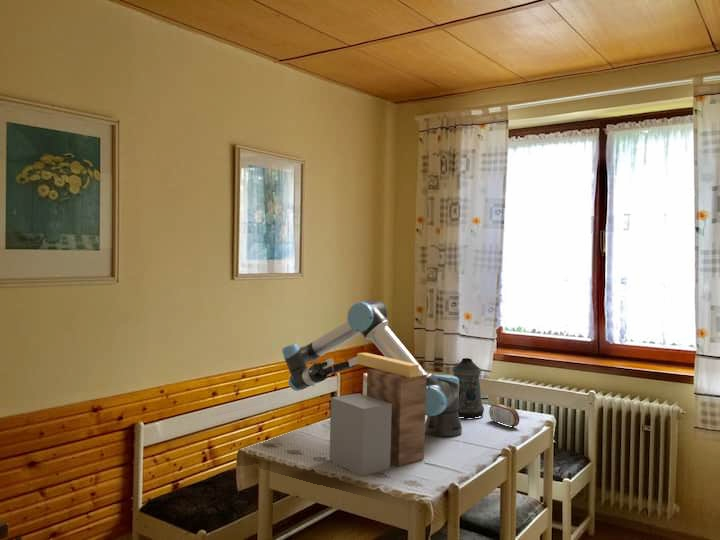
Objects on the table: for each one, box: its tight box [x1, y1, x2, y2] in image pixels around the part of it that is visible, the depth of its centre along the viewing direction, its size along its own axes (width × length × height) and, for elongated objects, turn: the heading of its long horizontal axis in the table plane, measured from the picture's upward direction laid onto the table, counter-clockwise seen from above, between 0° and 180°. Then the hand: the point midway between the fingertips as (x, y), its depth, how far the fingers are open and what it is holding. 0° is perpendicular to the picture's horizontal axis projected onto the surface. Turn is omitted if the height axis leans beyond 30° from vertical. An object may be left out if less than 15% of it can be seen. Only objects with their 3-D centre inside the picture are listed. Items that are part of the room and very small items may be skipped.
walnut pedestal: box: [366, 368, 426, 467], centre depth 221 cm, size 18×12×30 cm, turn 39°
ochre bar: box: [356, 352, 419, 377], centre depth 224 cm, size 29×4×4 cm, turn 39°
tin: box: [488, 402, 520, 428], centre depth 265 cm, size 15×3×8 cm, turn 35°
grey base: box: [329, 393, 392, 477], centre depth 211 cm, size 18×12×22 cm, turn 39°
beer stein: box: [452, 357, 485, 418], centre depth 281 cm, size 16×19×25 cm
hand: (346, 359), depth 244 cm, fingers open, 13 cm apart
